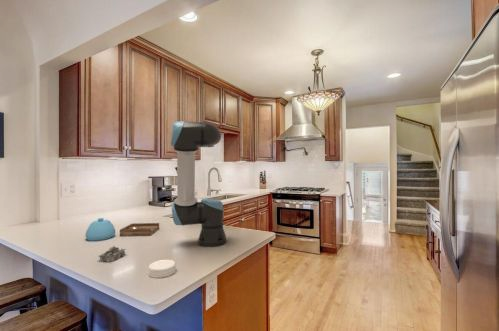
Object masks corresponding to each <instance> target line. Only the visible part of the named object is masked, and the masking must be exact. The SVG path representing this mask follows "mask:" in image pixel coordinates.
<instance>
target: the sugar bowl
mask: <svg viewBox="0 0 499 331" xmlns="http://www.w3.org/2000/svg"><path fill="white" fill-rule="evenodd" d="M115 234H116V229H115V226H114V224H113V223H112V222H111V220H108V219H104V218H103V217H99V218H97V220H94V221H92V222H91V223H90V224H89V226H88V228H86V231H85V235H84V236H85V239H87V240H88V241H90V242H99V241H105V239H106V240H108V239H112V238H113V237H114V236H115ZM111 237H112V238H111Z"/></svg>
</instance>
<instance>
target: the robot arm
mask: <svg viewBox="0 0 499 331" xmlns="http://www.w3.org/2000/svg"><path fill="white" fill-rule="evenodd" d="M171 131H172V132H171V140H170V146H171V147H173V150H174V152H176V159H177V160H176V163H177V165H176V167H174V169H175V171H176V175H177V176H176V180H177V184H176V185H177V197H176V198H175V199H174V202H173V203H171V213H172V215H171V216H172V221H173V224H174V225H175V226H183V227H184V226H191V225H201V227H200V228H201V229H200V233H199V236H198V239H197V241H198V242H197V243H198V245H200V246H202V247H210V248H211V247H219V246H223V245H225V244H226V243H227V236H226V232H225V229H224V204H223V201H221V200H218V199H213V198H212V199H211V198H202V199H201V200H200V201H198V199H197V197H196V196H195V192H196V191H195V190H196V189H195V185H196V184H195V183H196V182H195V181H196V179H195V178H196V177H195V176H196V172H195V171H196V153H197V152H198V151H199V148H213V147H215V145H217V144H219V143H220V141H221V139H222V132H221V130H220V129H219V127H217V126H216V125H215V124H213V123H210V122H202V121H201V122H200V121H187V120H186V121H184V120H182V121H178V120H177V121H175V122H173V124H172V130H171Z"/></svg>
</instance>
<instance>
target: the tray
mask: <svg viewBox="0 0 499 331" xmlns="http://www.w3.org/2000/svg"><path fill="white" fill-rule="evenodd" d="M133 227H137V229H132V228H133ZM159 230H160V222H153V223H151V222H148V223H142V222H140V223H139V222H138V223H130V224H128V225H125V226H124V227H122V228H121V229H119V237H150V236H152V235H154V234H155V233H156V232H157V231H159Z"/></svg>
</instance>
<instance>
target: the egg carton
mask: <svg viewBox="0 0 499 331" xmlns="http://www.w3.org/2000/svg"><path fill="white" fill-rule="evenodd" d="M126 250H127V248H121V249H120V248H119V247H117V246H115V245H113V246H112V247H110V248H109V249H108V250H106V251H105V252H104V253H101V254H99V255H98V258H99V262H100V263H102V262H106V263H113V262H115V260H117V259H118V260H119V259H120V258H121V257H124V256H126Z"/></svg>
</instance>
